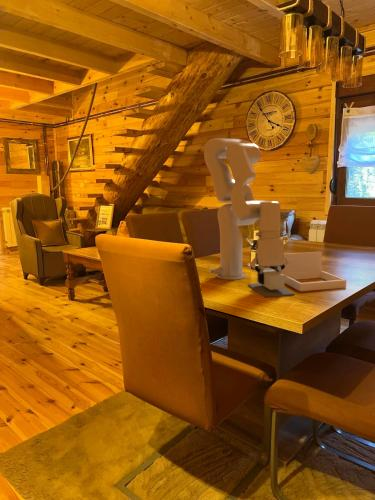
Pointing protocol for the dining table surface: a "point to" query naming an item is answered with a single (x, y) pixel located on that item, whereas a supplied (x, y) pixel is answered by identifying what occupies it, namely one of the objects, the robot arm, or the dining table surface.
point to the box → (273, 279)
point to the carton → (309, 272)
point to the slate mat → (270, 291)
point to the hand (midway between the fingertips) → (269, 282)
